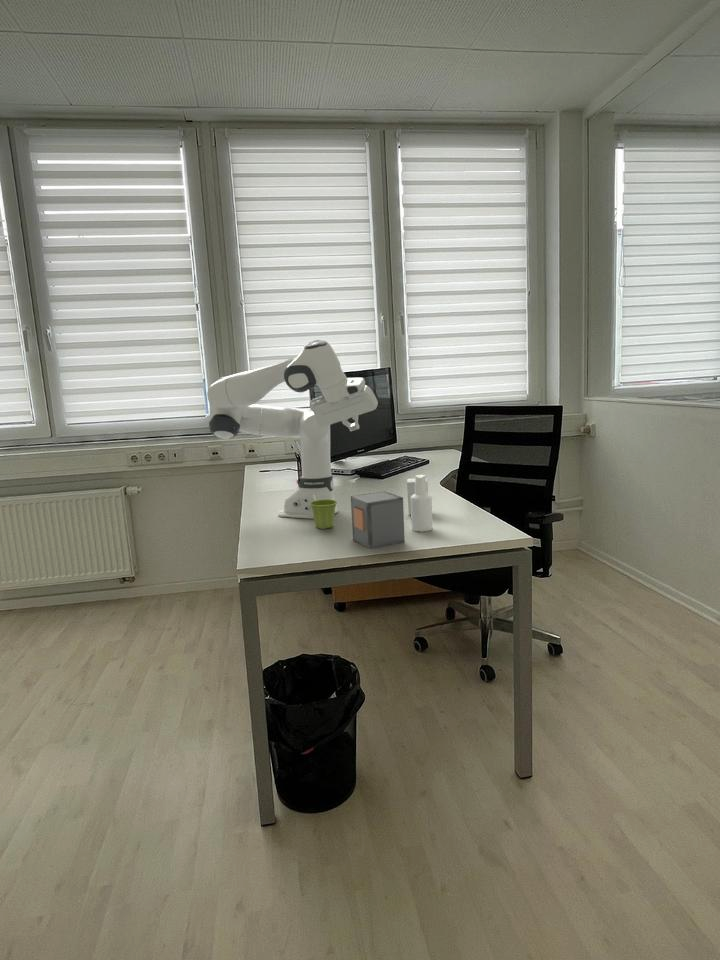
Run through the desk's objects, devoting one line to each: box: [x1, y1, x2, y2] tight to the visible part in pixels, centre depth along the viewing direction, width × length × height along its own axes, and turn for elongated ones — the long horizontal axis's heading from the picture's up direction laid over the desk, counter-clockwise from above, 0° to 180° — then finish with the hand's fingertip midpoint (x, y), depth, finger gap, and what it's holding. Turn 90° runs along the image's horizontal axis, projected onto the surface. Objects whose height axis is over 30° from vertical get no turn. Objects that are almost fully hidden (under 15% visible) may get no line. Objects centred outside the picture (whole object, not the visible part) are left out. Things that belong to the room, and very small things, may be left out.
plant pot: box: [310, 499, 338, 530], centre depth 205 cm, size 9×9×9 cm
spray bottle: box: [410, 474, 433, 533], centre depth 195 cm, size 7×7×18 cm
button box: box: [350, 491, 406, 549], centre depth 184 cm, size 12×12×14 cm
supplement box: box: [406, 477, 429, 516], centre depth 217 cm, size 7×7×13 cm
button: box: [354, 507, 365, 530], centre depth 183 cm, size 5×6×6 cm
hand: (355, 429), depth 187 cm, fingers closed
